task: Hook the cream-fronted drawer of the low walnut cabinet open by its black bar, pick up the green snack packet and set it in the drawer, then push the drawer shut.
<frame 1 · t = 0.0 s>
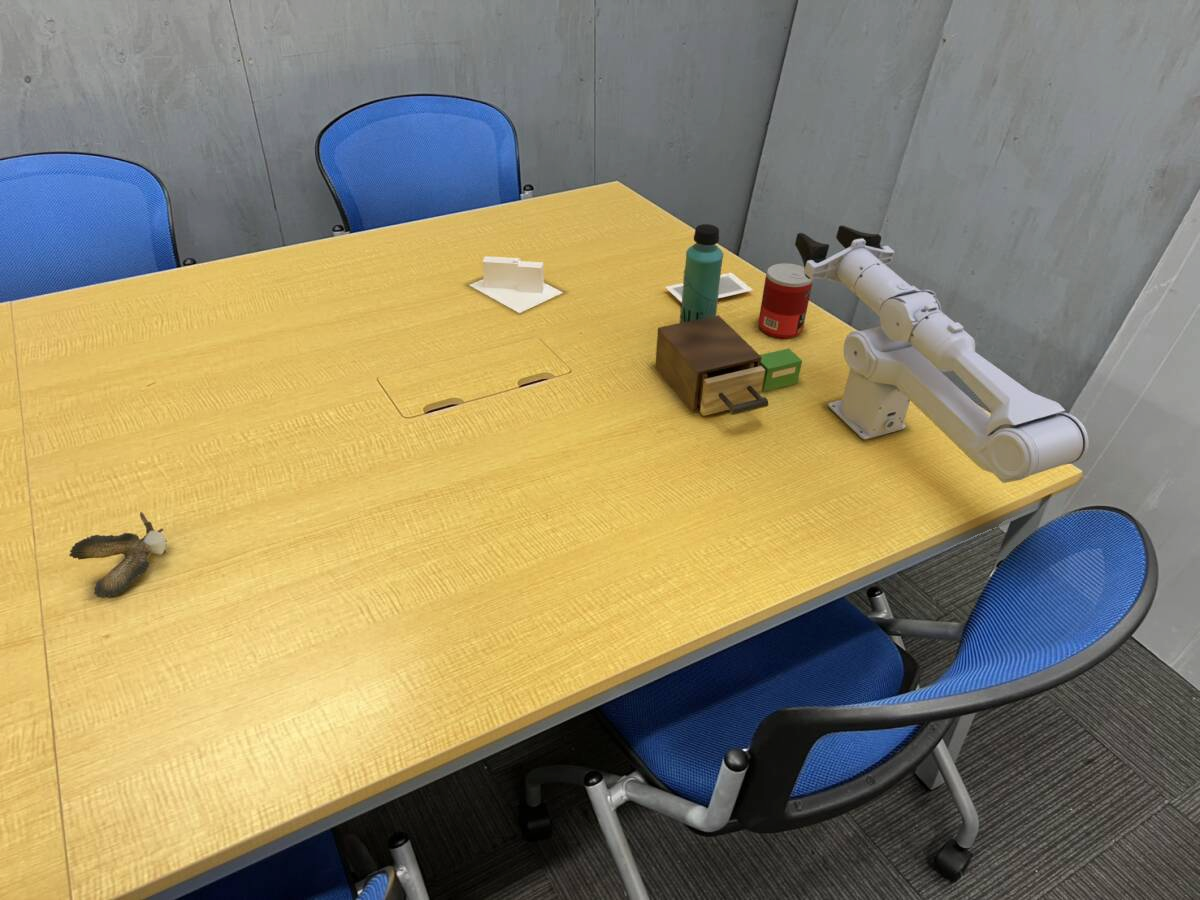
hand: (818, 235, 125), 22 cm above the table, tool horizontal, fingers open, 7 cm apart
cabinet: (703, 382, 132), on the table
napkin holder: (515, 289, 155), on the table
beverage bottle: (696, 334, 144), on the table
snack: (774, 381, 133), on the table
touchpad: (708, 294, 155), on the table
eagle figurine: (133, 570, 99), on the table
canned food: (779, 329, 146), on the table
drawer: (721, 379, 126), point 4 cm above the table, slide at 1.0 cm
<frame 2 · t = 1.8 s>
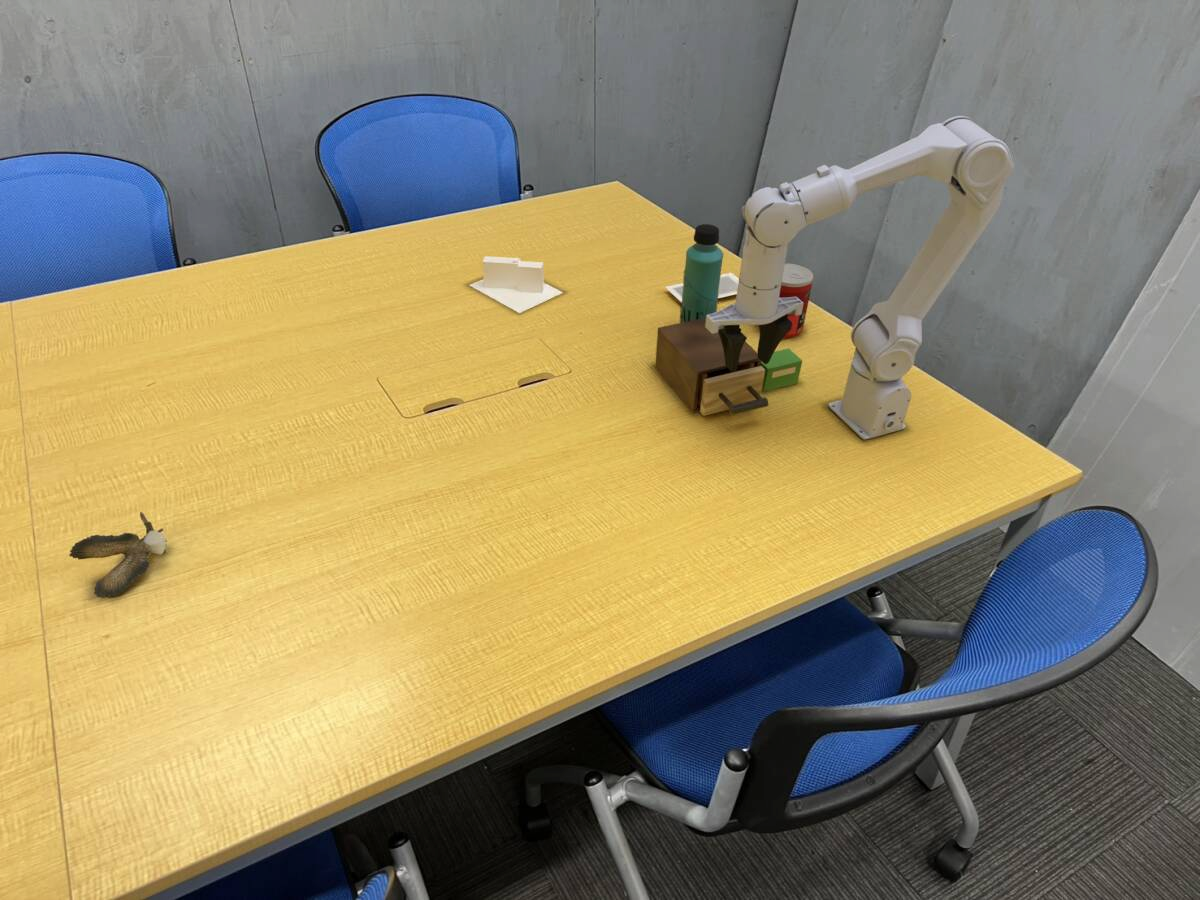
hand: (746, 364, 117), 10 cm above the table, tool pointing down, fingers open, 5 cm apart
nothing on the table moved.
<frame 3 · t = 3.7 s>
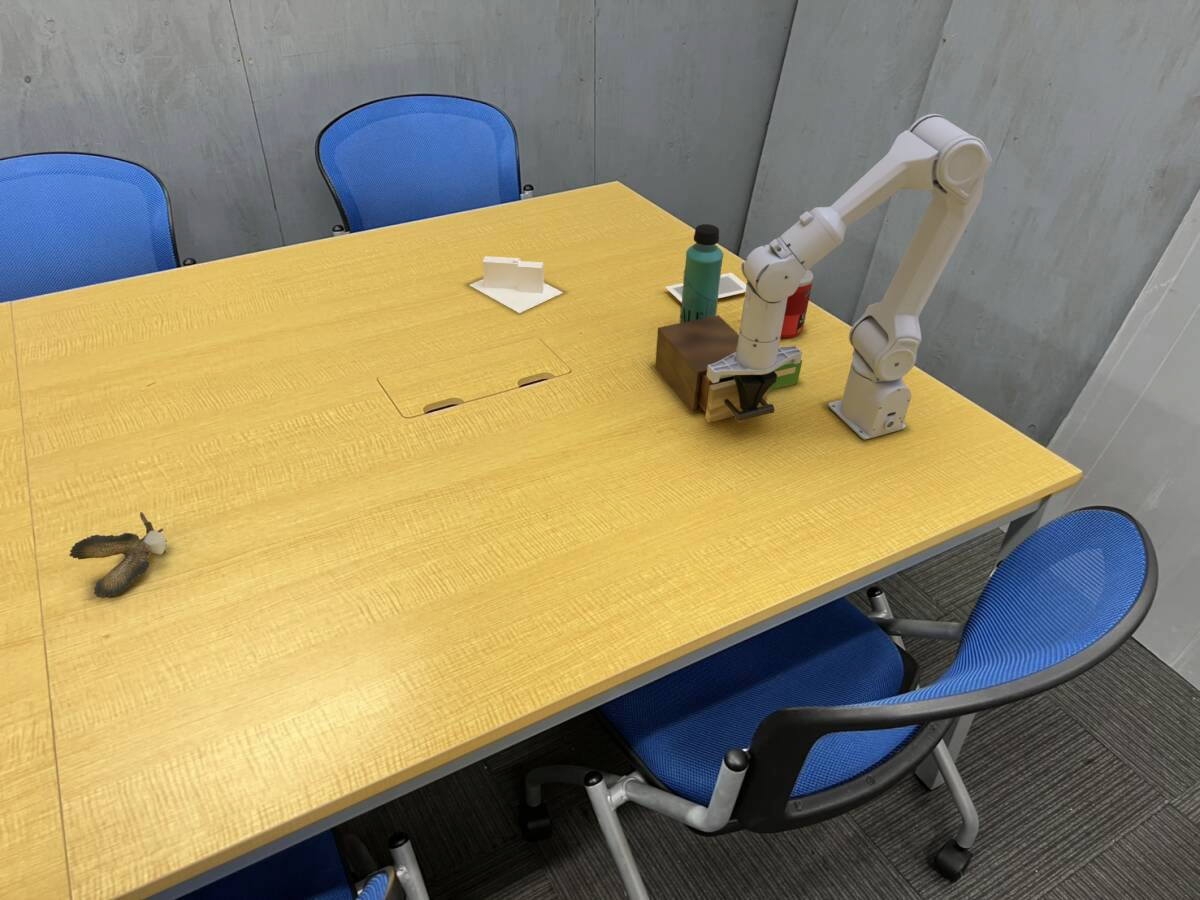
hand: (747, 409, 121), 3 cm above the table, tool pointing down, fingers closed, pressing on drawer
drawer: (727, 385, 125), point 4 cm above the table, slide at 2.7 cm, touching gripper
everything else where it was.
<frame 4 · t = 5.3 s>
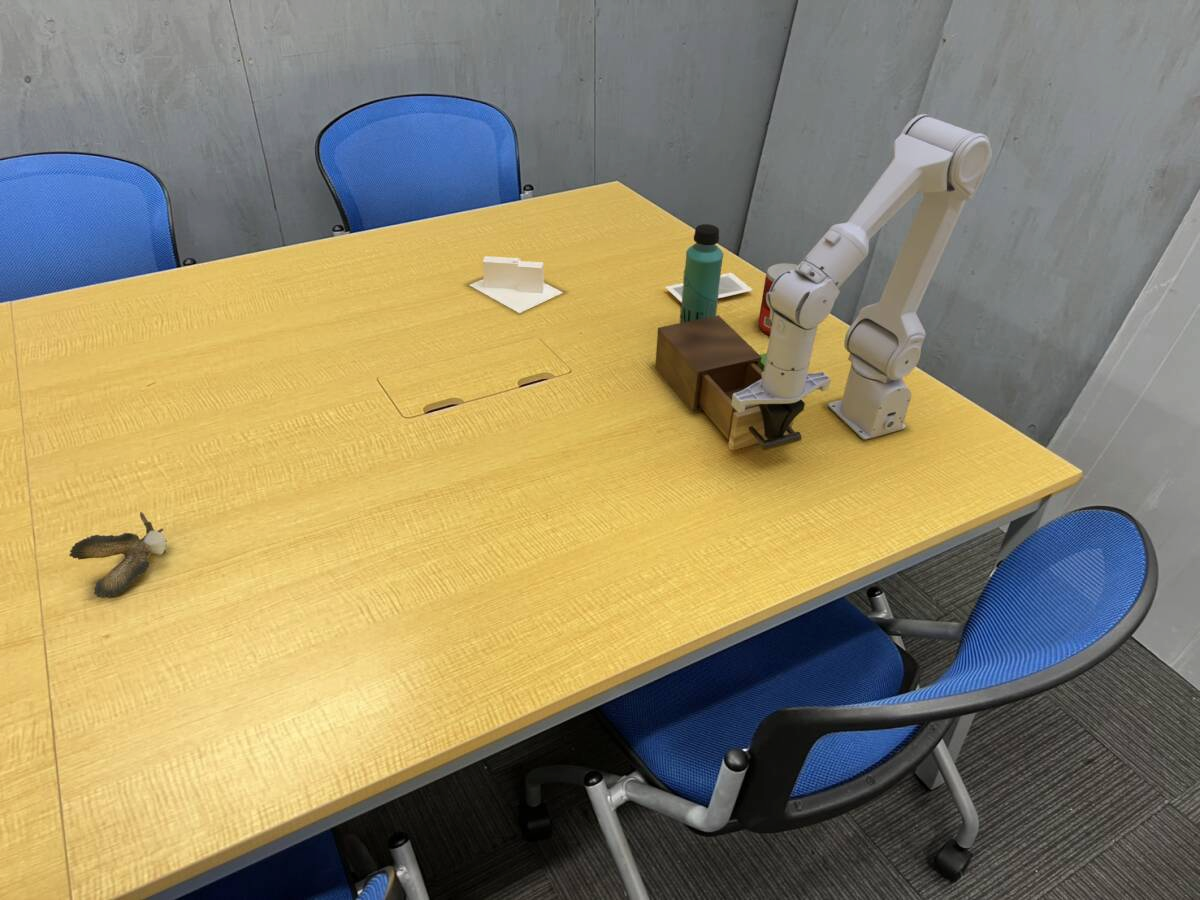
hand: (772, 438, 116), 3 cm above the table, tool pointing down, fingers closed, pressing on drawer
drawer: (750, 410, 120), point 4 cm above the table, slide at 9.8 cm, touching gripper
everything else where it was.
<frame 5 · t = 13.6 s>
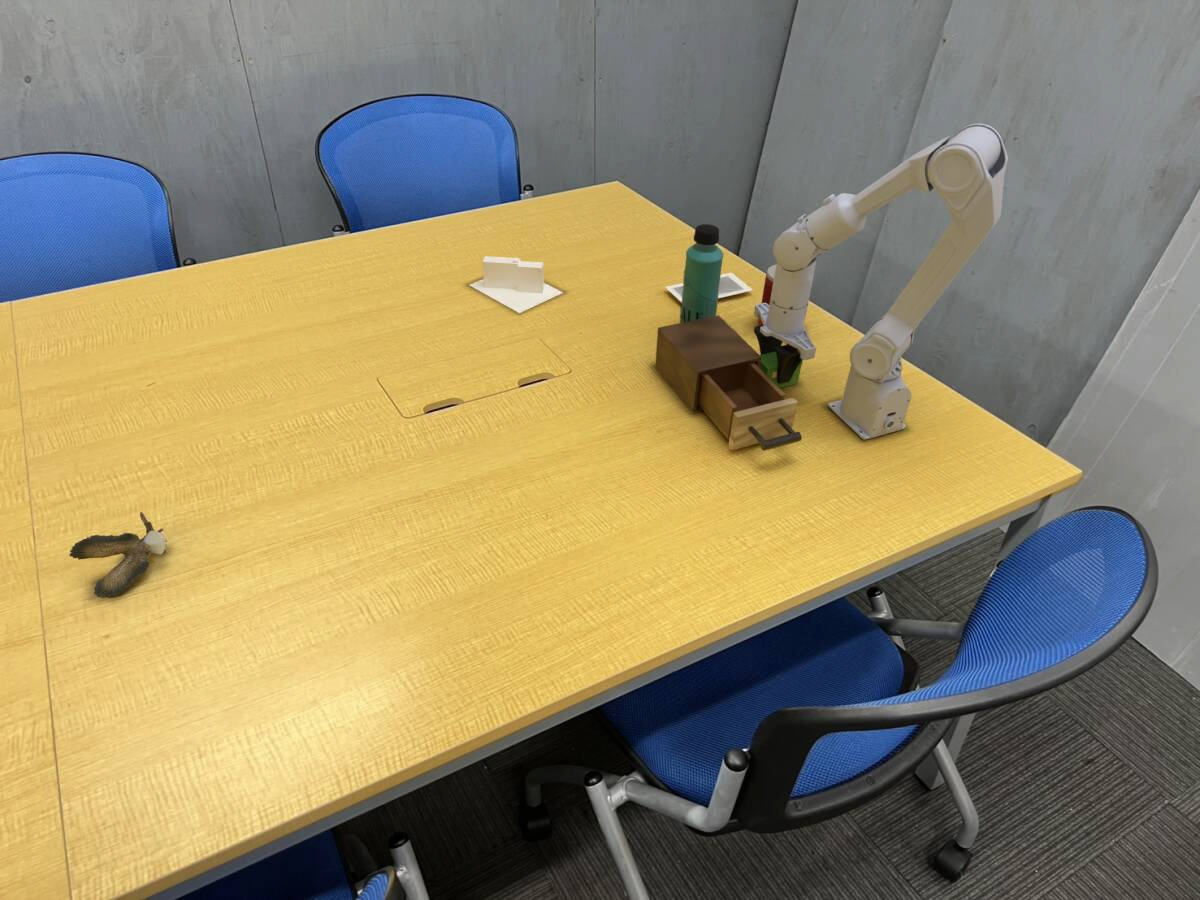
hand: (775, 374, 132), 1 cm above the table, tool pointing down, fingers closed on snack, 4 cm apart
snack: (774, 381, 132), on the table, touching gripper
drawer: (750, 410, 120), point 4 cm above the table, slide at 9.9 cm
everything else where it was.
when the fingers open (3 cm above the table, at t = 18.7 s): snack stays where it is, resting on drawer.
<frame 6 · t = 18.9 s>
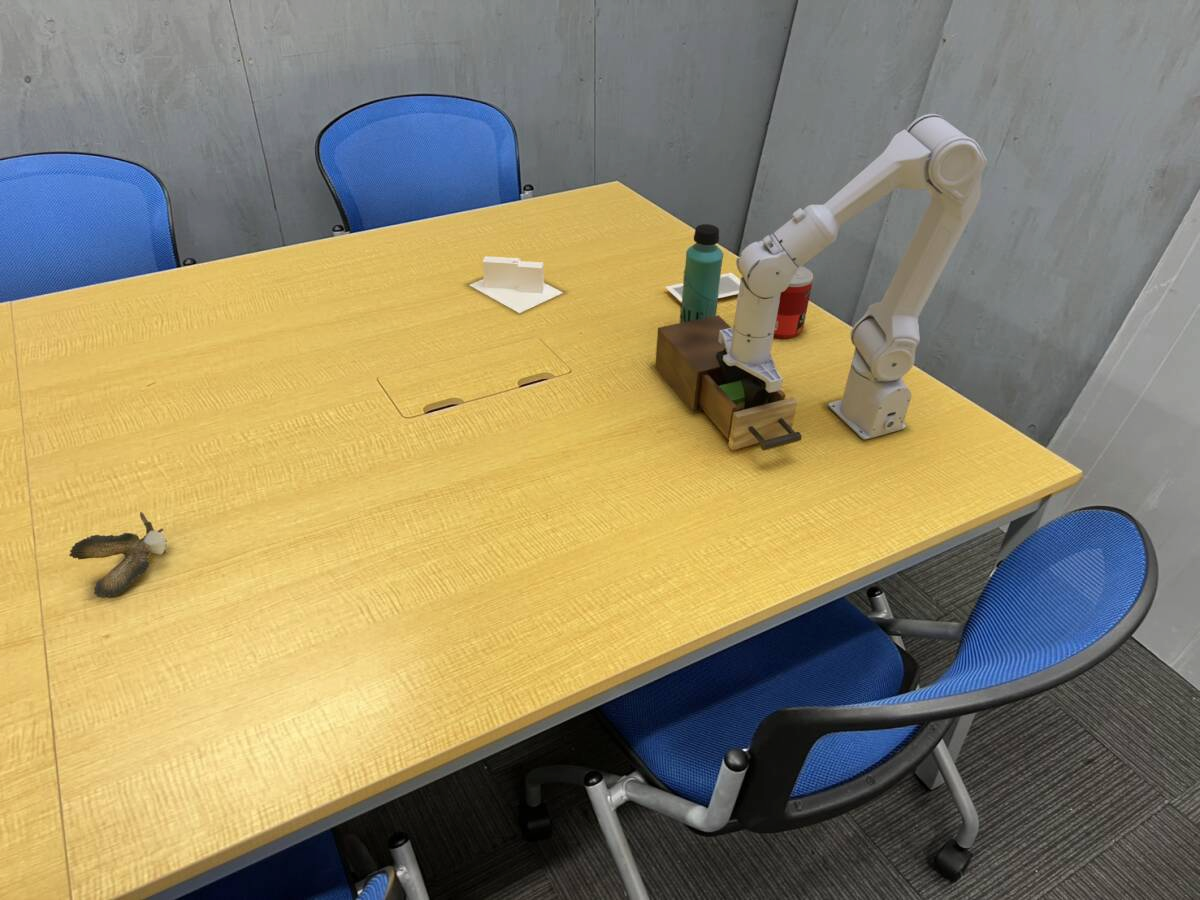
hand: (741, 404, 122), 3 cm above the table, tool pointing down, fingers open, 5 cm apart
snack: (740, 412, 123), point 2 cm above the table, touching drawer
drawer: (750, 410, 120), point 4 cm above the table, slide at 9.8 cm, touching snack
everything else where it was.
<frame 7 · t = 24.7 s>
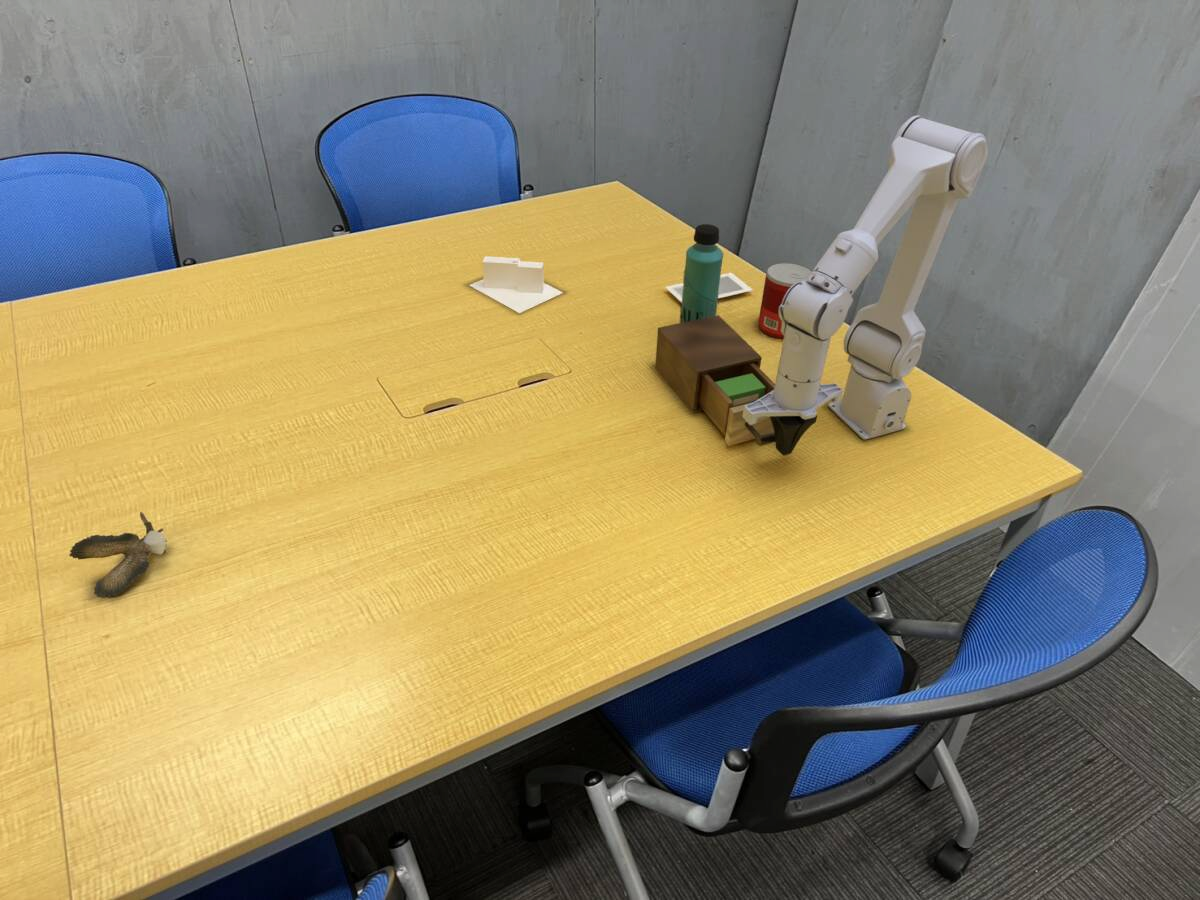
hand: (783, 450, 114), 3 cm above the table, tool pointing down, fingers closed, pressing on drawer
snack: (736, 408, 124), point 2 cm above the table, touching drawer
drawer: (747, 406, 120), point 4 cm above the table, slide at 8.7 cm, touching gripper, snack
everything else where it was.
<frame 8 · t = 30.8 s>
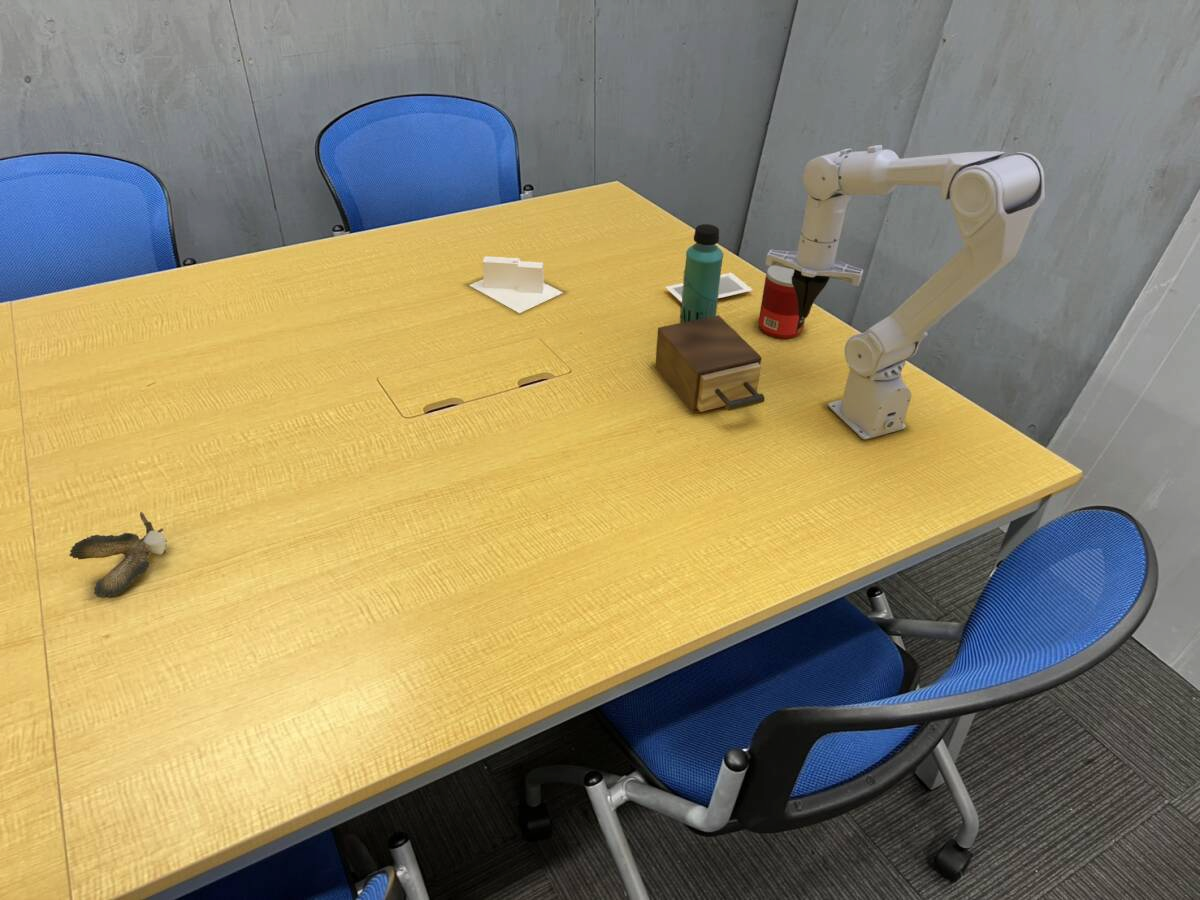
hand: (803, 314, 129), 10 cm above the table, tool pointing down, fingers closed
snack: (709, 377, 130), point 2 cm above the table, touching drawer
drawer: (718, 375, 127), point 4 cm above the table, slide at -0.1 cm, touching cabinet, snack
everything else where it was.
at the end: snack inside the target area in the cabinet (1.5 cm from its centre), point 1.8 cm above the cabinet's base; drawer slide at -0.1 cm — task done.
